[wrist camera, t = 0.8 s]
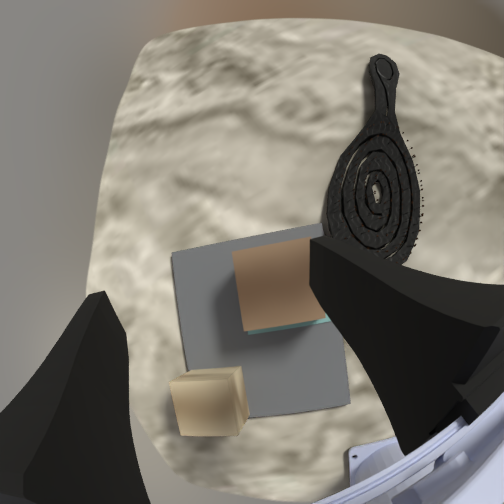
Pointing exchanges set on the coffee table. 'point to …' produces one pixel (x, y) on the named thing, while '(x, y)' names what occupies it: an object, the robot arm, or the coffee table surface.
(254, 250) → the walnut block
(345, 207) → the hairbrush
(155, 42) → the coffee table surface
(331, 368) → the mat
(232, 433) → the birch block
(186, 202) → the coffee table surface
